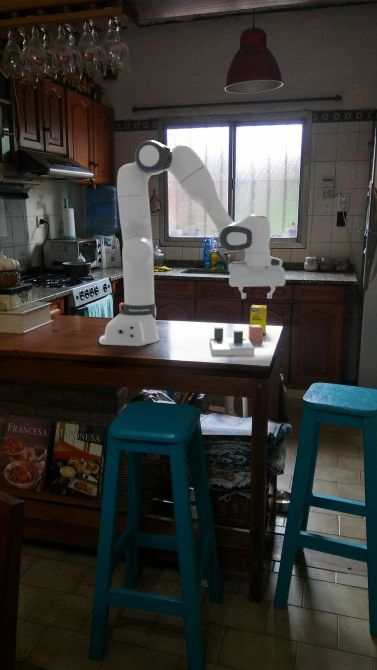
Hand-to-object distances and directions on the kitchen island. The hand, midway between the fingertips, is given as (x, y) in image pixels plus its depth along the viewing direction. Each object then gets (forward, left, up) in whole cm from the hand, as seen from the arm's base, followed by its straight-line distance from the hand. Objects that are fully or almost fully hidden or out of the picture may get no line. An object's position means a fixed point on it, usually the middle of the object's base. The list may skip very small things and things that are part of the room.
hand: (256, 298), depth 197 cm
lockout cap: (0, 0, -16) cm, 16 cm away
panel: (-10, -10, -16) cm, 22 cm away
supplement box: (+3, +14, -17) cm, 22 cm away
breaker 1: (-14, -4, -14) cm, 20 cm away
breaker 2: (-8, -9, -14) cm, 19 cm away
